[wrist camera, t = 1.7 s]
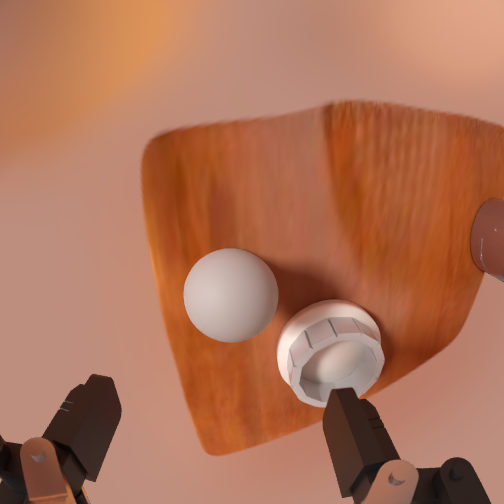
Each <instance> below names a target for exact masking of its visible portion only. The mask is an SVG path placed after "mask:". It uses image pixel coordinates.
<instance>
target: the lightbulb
mask: <svg viewBox="0 0 504 504" xmlns="http://www.w3.org/2000/svg"><path fill="white" fill-rule="evenodd" d="M278 293H279V292H278V287H277V282H276V279H275V277H274V275H273V272H272V271H271V270H270V268H269V267H268V265H267V264H266V263H265V262H264V261H262V260H261V259H260V258H259V257H257V256H255V255H254V254H252V253H250V252H248V251H245V250H241V249H237V248H226V249H221V250H217V251H214V252H212V253H210V254H207V255H206V256H204V257H203V258H201V259H200V260H199V261H198V262H197V263H196V264H195V265H194V266H193V268H192V269H191V271H190V273H189V275H188V276H187V279H186V282H185V287H184V303H185V307H186V310H187V313H188V316H189V318H190V319H191V321H192V323H193V324H194V325H195V326H196V327H197V329H199V330H200V331H201V332H202V333H203V334H205V335H207V336H209V337H210V338H212V339H215V340H218V341H222V342H240V341H245V340H247V339H250V338H253V337H254V336H256V335H258V334H259V333H261V332H262V331H263V330H264V329H265V328H266V327H267V325H268V324H269V323H270V322H271V320H272V318H273V316H274V314H275V312H276V308H277V304H278Z"/></svg>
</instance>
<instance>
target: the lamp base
mask: <svg viewBox="0 0 504 504" xmlns="http://www.w3.org/2000/svg"><path fill="white" fill-rule="evenodd" d="M276 354H277V360H278V367H279V370H280V373H281V375H282V377H283V379H284V380H285V381H286V382H287V383H288V384H289V385H290V386H291V388H292V389H293V391H294V392H295V394H296V395H297V397H298V398H299V400H301V401H302V402H305V403H308V404H310V405H313V406H316V407H318V406H319V407H326V405H327V402H328V398H329V395H330V392H331V390H332V389H337V388H347V387H352V388H353V389H354V390H355V392H356V394H357V397H360V396H361V394H364V393H365V392H366V391H367V390H368V389H369V388H370V387H371V386H372V385H373V384H374V383H375V382H376V381H377V380H378V379H377V378H379V376H380V374H381V371H382V368H383V365H384V362H385V360H384V359H385V358H384V354H383V351H382V348H381V336H380V331H379V329H378V326H377V325H376V323H375V322H374V320H373V319H372V318H371V317H370V315H369V314H368V313H367V312H366V311H365V310H364V309H363V308H362V307H361V306H359V305H357V304H356V303H353V302H351V301H347V300H341V299H330V300H324V301H320V302H316V303H314V304H311V305H309V306H307V307H305V308H303V309H302V310H300V311H299V312H297V313H296V314H295V315H294V316H293V317H292V318H290V320H289V321H288V322H287V323H286V324H285V326H284V327H283V329H282V330H281V332H280V334H279V337H278V340H277V345H276Z"/></svg>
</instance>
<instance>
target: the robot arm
mask: <svg viewBox="0 0 504 504" xmlns="http://www.w3.org/2000/svg"><path fill="white" fill-rule="evenodd" d="M470 246H471V254H472V258H473V261H474V263H475V264H476V266H477V267H478V268H479V269H481V270H483V271H485V272H486V273H488V274H490V275H492V276H494V277H496V278H497V279H499V280H501V281H502V282H504V200H501V199H490V200H488V201H487V202H485V203H484V205H483V206H482V207H481V208H480V210H479V211H478V213H477V215H476V218H475V220H474V223H473V227H472V232H471V242H470ZM121 412H122V410H121V404H120V401H119V398H118V394H117V391H116V388H115V385H114V381H113V379H112V378H111V377H107V376H101V375H97V374H92V375H91V376H90V377H89V379H88V380H87V382H86V383H85V385H83V384H80V385H78V386H77V387H75V388H74V389H73V390H71V391H70V393H69V394H68V396H67V397H66V399H65V402H63V404H62V405H61V407H60V410H58V411H57V413H56V415H55V416H54V418H53V419H52V421H51V423H50V424H49V426H48V427H47V429H46V431H45V432H44V434H43V436H42V437H34V438H31V439H29V440H27V441H26V442H25V443H24V444H17V443H11V442H5V441H4V439H3V438H2V437H1V435H0V478H1V479H2V481H1V483H0V504H91V503H90V501H89V499H88V496H87V494H86V492H85V489H84V487H83V482H84V480H85V479H87V480H90V481H93V482H96V479H97V476H98V474H99V471H100V468H101V466H102V463H103V461H104V458H105V456H106V453H107V451H108V448H109V445H110V443H111V441H112V438H113V436H114V433H115V431H116V428H117V426H118V424H119V421H120V418H121ZM323 431H324V434H325V438H326V441H327V444H328V448H329V452H330V456H331V459H332V463H333V466H334V470H335V473H336V477H337V481H338V484H339V488H340V492H341V495H342V498H345V497H350V496H352V497H353V500H354V504H491V502H490V500H489V498H488V496H487V494H486V492H485V490H484V488H483V486H482V484H481V482H480V480H479V478H478V476H477V474H476V472H475V470H474V468H473V467H472V465H471V464H470V463H469V462H468V461H467V460H465V459H463V458H459V457H456V458H451V459H449V460H447V461H446V462H445V463H444V464H443V465H442V466H441V467H439V468H423V469H422V468H415V467H414V465H413V464H411V463H410V462H407V461H404V460H401V459H400V457H399V455H398V453H397V451H396V449H395V447H394V445H393V443H392V440H391V438H390V436H389V434H388V432H387V430H386V428H384V424H383V422H382V420H381V419H380V416H379V414H378V412H377V410H376V408H375V407H374V406H373V405H372V404H371V403H370V402H369V401H367V400H366V399H358V397H357V394H356V392H355V390H354V389H353V388H352V387H347V388H337V389H332V390H331V392H330V395H329V398H328V402H327V405H326V408H325V412H324V415H323Z"/></svg>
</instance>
